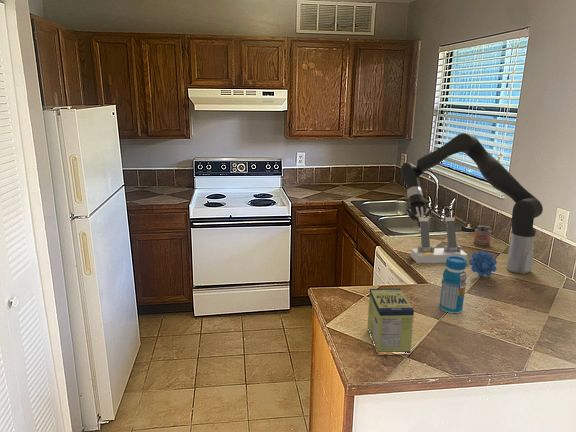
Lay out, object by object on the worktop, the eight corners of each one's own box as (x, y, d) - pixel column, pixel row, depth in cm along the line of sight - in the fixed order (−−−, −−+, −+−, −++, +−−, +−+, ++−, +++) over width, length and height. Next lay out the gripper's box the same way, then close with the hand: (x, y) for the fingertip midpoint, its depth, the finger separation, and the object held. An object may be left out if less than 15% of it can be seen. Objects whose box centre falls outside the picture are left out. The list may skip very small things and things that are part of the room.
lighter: (473, 243, 230) (475, 225, 227) (473, 241, 233) (476, 224, 230) (489, 246, 226) (492, 227, 224) (489, 244, 229) (492, 226, 226)
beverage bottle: (441, 313, 157) (447, 262, 151) (436, 302, 165) (442, 254, 160) (465, 315, 156) (472, 264, 150) (459, 304, 164) (465, 255, 158)
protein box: (396, 329, 147) (400, 287, 143) (410, 355, 132) (415, 310, 128) (366, 329, 147) (369, 287, 142) (377, 356, 132) (380, 310, 127)
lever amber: (429, 251, 207) (427, 218, 210) (431, 251, 205) (428, 217, 208) (420, 251, 207) (418, 218, 210) (422, 251, 205) (419, 217, 208)
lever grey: (456, 251, 208) (453, 217, 210) (457, 251, 206) (455, 217, 209) (447, 251, 208) (444, 217, 210) (448, 251, 206) (446, 217, 208)
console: (458, 255, 213) (459, 242, 211) (466, 262, 204) (468, 249, 203) (410, 256, 212) (411, 243, 210) (416, 263, 203) (418, 250, 201)
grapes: (469, 279, 186) (473, 253, 183) (466, 273, 192) (469, 247, 189) (498, 281, 184) (502, 255, 181) (493, 274, 191) (497, 249, 187)
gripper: (404, 193, 216) (410, 223, 208) (430, 193, 217) (437, 223, 208) (400, 201, 223) (406, 230, 214) (425, 200, 223) (432, 230, 215)
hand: (421, 227), depth 211 cm, fingers closed
